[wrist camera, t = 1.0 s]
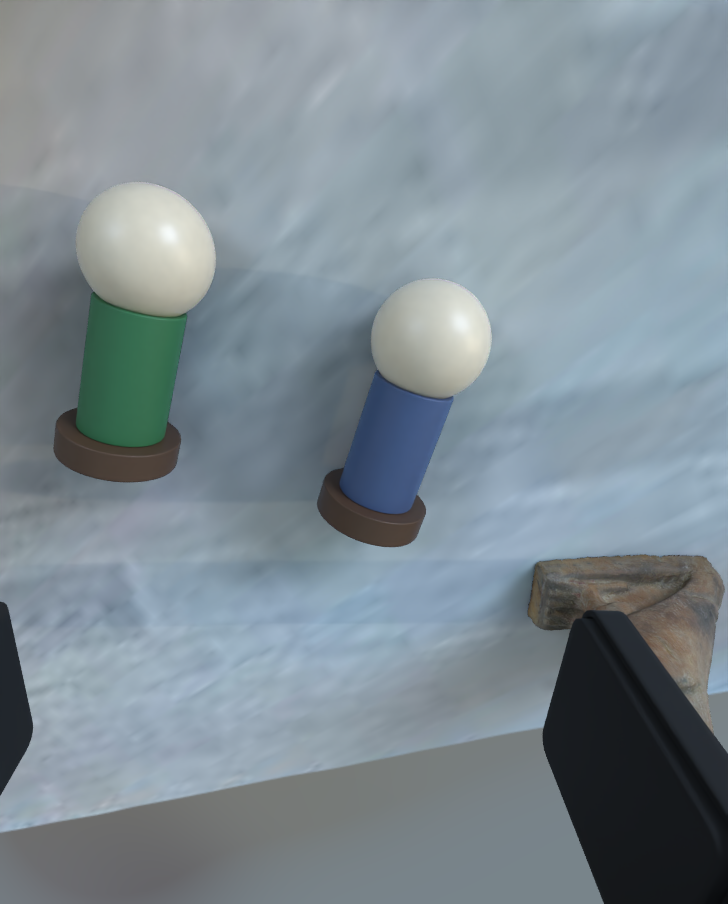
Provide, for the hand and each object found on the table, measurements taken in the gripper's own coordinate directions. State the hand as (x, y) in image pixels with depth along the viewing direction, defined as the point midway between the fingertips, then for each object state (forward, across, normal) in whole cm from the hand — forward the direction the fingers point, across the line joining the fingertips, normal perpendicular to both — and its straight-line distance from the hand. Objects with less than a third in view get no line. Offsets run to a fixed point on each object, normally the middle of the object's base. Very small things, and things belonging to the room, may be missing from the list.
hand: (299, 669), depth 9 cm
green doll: (+21, +8, -1) cm, 23 cm away
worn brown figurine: (+22, -20, +14) cm, 32 cm away
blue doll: (+21, -4, +1) cm, 22 cm away
